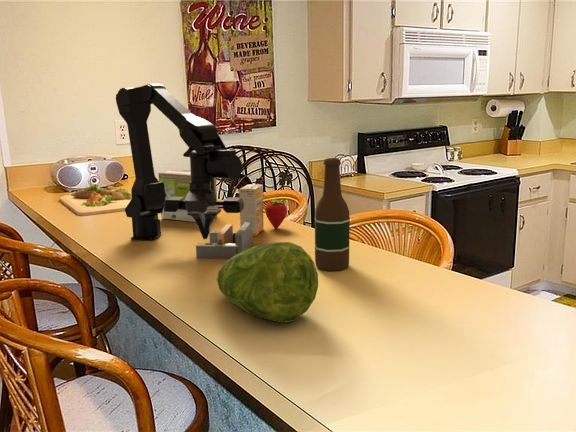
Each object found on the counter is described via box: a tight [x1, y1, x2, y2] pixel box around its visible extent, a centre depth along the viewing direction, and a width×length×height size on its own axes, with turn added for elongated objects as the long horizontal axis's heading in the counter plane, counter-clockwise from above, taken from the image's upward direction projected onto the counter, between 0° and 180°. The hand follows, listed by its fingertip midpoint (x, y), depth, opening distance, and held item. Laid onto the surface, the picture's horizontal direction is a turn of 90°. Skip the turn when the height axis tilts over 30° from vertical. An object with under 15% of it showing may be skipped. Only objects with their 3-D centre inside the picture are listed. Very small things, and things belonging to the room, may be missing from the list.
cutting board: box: [58, 183, 132, 217], centre depth 196 cm, size 35×23×8 cm
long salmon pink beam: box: [217, 223, 234, 244], centre depth 134 cm, size 2×12×5 cm, turn 173°
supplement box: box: [238, 183, 264, 237], centre depth 151 cm, size 8×5×13 cm, turn 168°
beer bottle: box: [314, 157, 351, 272], centre depth 119 cm, size 8×8×24 cm
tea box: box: [158, 168, 218, 223], centre depth 170 cm, size 15×10×15 cm, turn 68°
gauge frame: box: [195, 221, 254, 260], centre depth 135 cm, size 11×14×6 cm
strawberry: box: [264, 193, 288, 229], centre depth 156 cm, size 6×8×10 cm
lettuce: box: [216, 241, 319, 324], centre depth 97 cm, size 14×23×13 cm, turn 38°
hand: (205, 238), depth 135 cm, fingers closed
